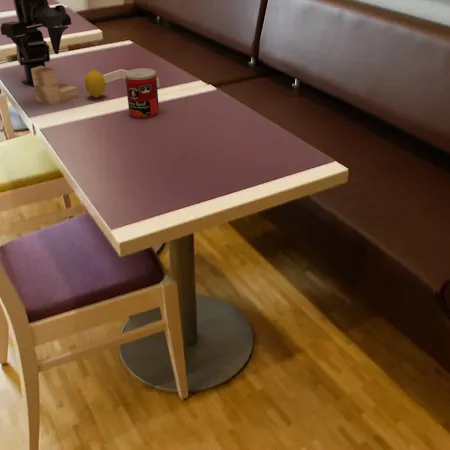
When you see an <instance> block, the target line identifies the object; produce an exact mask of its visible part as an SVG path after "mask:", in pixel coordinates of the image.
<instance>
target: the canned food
mask: <svg viewBox="0 0 450 450" xmlns="http://www.w3.org/2000/svg"><path fill="white" fill-rule="evenodd" d="M127 71H128V72H126V74H125V75H126V76H125V77H126V79H125V85H126V95H127V105H128V113H129V115H130V116H131V117H132V118H135V119H144V120H145V119H151V118H154V117H156V116H157V115H158V114H159V111H160V107H159V106H160V105H159V104H160V103H159V92H158V88H157V78H158V77H157V70H155V69H152V68H148V67H147V68H146V67H141V68H133V69H131V70H127Z"/></svg>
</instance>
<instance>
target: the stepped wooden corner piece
mask: <svg viewBox="0 0 450 450" xmlns="http://www.w3.org/2000/svg"><path fill="white" fill-rule="evenodd" d="M31 72H32V78H33V83H34V86H33V88H34V93H35V99H36V101H38V102H41V103H44V104H46V103H47V104H46V105H49V104H51V105H53V103H54V104H56V103H59V101H60V102H61V103H64V102H65V103H68V102H70V101H71V102H72V101H73V99H74V100H77V99H78V98H79V97H80V96H79V89H78V86H75V85H74V86H73V85H70V84H66V83H62V82H59V81H58V79H57V78H58V77H57V73H56V69H55V68H52V67H48V66H45V67H44V66H39V67H35V68H32V69H31Z"/></svg>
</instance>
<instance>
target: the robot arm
mask: <svg viewBox="0 0 450 450" xmlns="http://www.w3.org/2000/svg"><path fill="white" fill-rule="evenodd" d="M12 1H13V5H14V10H15V13H16V18H17V21H15V20H13V21H7V22H2V23H1V25H0V34H1V35H2V36H6V38H9V39H10V40H12V42H13V43H14V45H16V46H15V47H16V50H15V51H16V58H17V61H18V64H19V65H20V66H23V69H24V74H25V79H24V80H22V83H23V84H26V85H29V86H32V87H34V83H33V78H32V72H31V69H32V68H35V67H39V66H44V67H46V64H45V63H49V62H50V61H51V56H50V45H49V44H48V43H47V41H46V40H45V39H44V36H43V33H42V31H41V30H40V29H38V28H43V27H44V28H46V30H47V33H48V36H49V40H50V44H51V47H52V50H53V52H54V54H55V55H59V52H60V46H61V39H62V36H63V33H64V32H65V30H67V29H69V26H70V25H72V18H71V16H70V15H69V14H68V13H67V11H66V8H65V7H66V6H64V5H63V4H58V5H55V6H52V7H51V6H50V5H49V1H48V0H12Z"/></svg>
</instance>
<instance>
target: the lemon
mask: <svg viewBox="0 0 450 450" xmlns="http://www.w3.org/2000/svg"><path fill="white" fill-rule="evenodd" d="M103 75H104V74H102V73H101V72H100V71H97V70H95V69H92V70H91V71H89V72H88V73H87V74H86V76H85V79H84V85H85V89H86V91H87V93H88V94H89V95H90V96H92V97H94V98H96V99H98V98H100V96H103V94H104V92H105V91H106V84H105V80H104V77H103Z"/></svg>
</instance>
